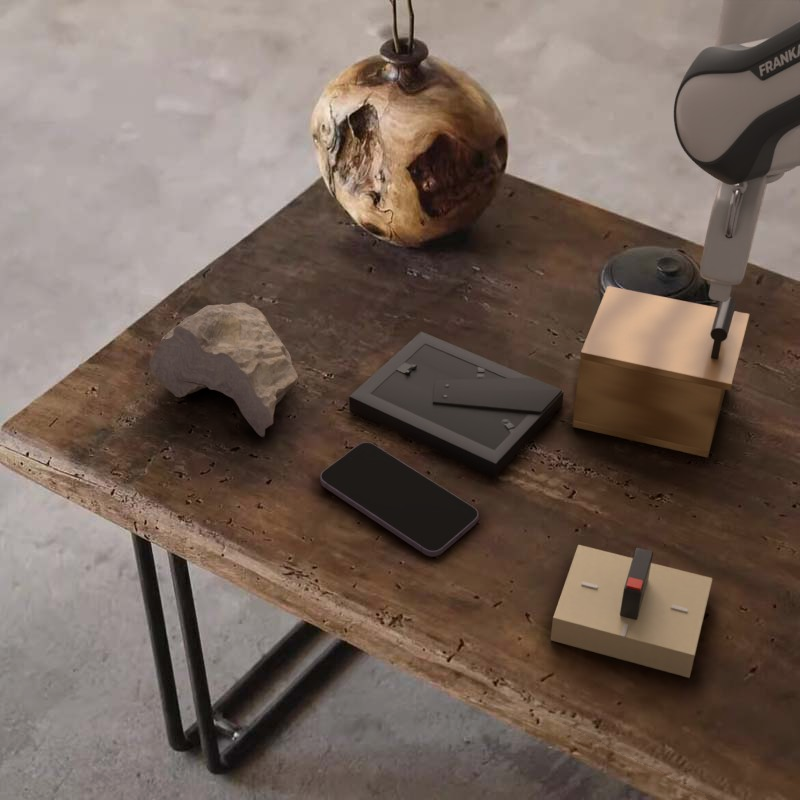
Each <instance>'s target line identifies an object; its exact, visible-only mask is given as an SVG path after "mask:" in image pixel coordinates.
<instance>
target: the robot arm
mask: <svg viewBox="0 0 800 800" xmlns="http://www.w3.org/2000/svg"><path fill="white" fill-rule="evenodd" d="M718 19H719V20H718V25H717V31H716V36H715V43H714V46H708V47H705V48H704V49H702V50H701V51H700V52H699V53H698V55H697V56H696V57H695V59H694V60H693V61H692V63H691V64H690V66H689V68H688V69H687V71H686V73H685V74H684V76H683V78H682V80H681V81H680V84H679V87H678V88H677V92H676V95H675V99H674V104H673V122H674V124H673V125H674V130H675V134H676V137H677V140H678V142H679V144H680V147H681V148H682V150H683V151H684V153H685V154H686V155H687V156H688V158H689V159H690V160H691V161H692V162H693V163H694V164H696V165H697V166H698V167H699V168H700V169H702V171H704V172H705V173H707V174H708V175H710V176H711V177H713V178H714V179H716V180H718V185H717V188H716V191H715V195H714V198H713V202H712V206H711V210H710V215H709V219H708V223H707V224H708V225H707V229H706V234H705V239H704V244H703V249H702V254H701V259H700V265H699V274H700V277H701V278H702V279H704V280H707V281H710V284H709V285H710V286H709V289H708V298H709V299H710V300H712V301H715V302H716V301H717V302H720V301H721V302H726V301H728V300H729V297H731V293H732V288H733V285H734V286H739V285H740V284H741V283H742V282H743V280H744V278H745V275H746V271H747V268H748V263H749V260H750V255H751V251H752V247H753V243H754V239H755V235H756V231H757V226H758V222H759V219H760V216H761V215H760V214H761V211H762V206H763V203H764V199H765V195H766V191H767V187H768V184H772V183H774V182H777V181H778V180H780V179H781V178H783V176H784V175H785V173H787V172H790V171H791V170H794V169H795V168H797V167H800V0H723V1H722V6H721V11H720V14H719V18H718Z"/></svg>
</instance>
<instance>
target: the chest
mask: <svg viewBox="0 0 800 800" xmlns="http://www.w3.org/2000/svg"><path fill="white" fill-rule="evenodd" d="M577 373H578V374H577V383H576V391H575V401H574V409H573V417H572V427H573V428H576V429H579V430H584V431H590V432H592V433H593V432H594V433H598V434H601V435H607V436H610V437H611V436H612V437H614V438H615V437H616V438H620V439H624V440H628V441H633V442H637V443H641V444H646V445H650V446H655V447H658V448H659V447H660V448H664V449H669V450H673V451H677V452H680V453H686V454H690V455H695V456H698V457H703V458H709V454H710V451H711V446H712V443H713V439H714V436H715V432H716V427H717V424H718V421H719V416H720V414H721V413H720V412H721V409H722V404H723V401H724V397H725V394H726V391H727V390H726V389H721V388H716V387H712V386H707V385H702V384H698V383H693V382H688V381H683V380H679V379H674V378H669V377H665V376H660V375H655V374H651V373H646V372H641V371H637V370H632V369H627V368H623V367H618V366H613V365H609V364H604V363H599V362H595V361H590V360H585V359H581V358H580V357H579V365H578V372H577Z"/></svg>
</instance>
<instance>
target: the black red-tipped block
mask: <svg viewBox="0 0 800 800" xmlns="http://www.w3.org/2000/svg"><path fill="white" fill-rule="evenodd" d="M653 556H654V552H653V551H652V550H649V549H645V548H640V547H635V549H634V554H633V557H632V558H633V560H632V563H631V566H630V570H629V573H628V577H627V580H626V583H625V587H624V592H623V598H622V604H621V610H620V616H622V617H626V618H630V619H634V620H637V618H638V615H639V611H640V607H641V604H642V600H643V597H644V593H645V589H646V586H647V582H648V578H649V573H650V567H651V563H653Z"/></svg>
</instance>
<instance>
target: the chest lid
mask: <svg viewBox="0 0 800 800" xmlns="http://www.w3.org/2000/svg"><path fill="white" fill-rule="evenodd" d="M736 307H737V302H736V299H735V298H734V297H732V296H730V297H729V300H728V301H726V302H721V301H718V305H717V307H716V306H712V305H707V304H701V303H696V302H691V301H686V300H680V299H676V298H671V297H665V296H662V295H655V294H652V293H646V292H640V291H635V290H631V289H625V288H621V287H620V288H619V287H615V286H610V285H607V286H606V289H605V291H604V293H603V295H602V299H601V301H600V304H599V306H598V308H597V312H596V314H595V315H594V318H593V321H592V323H591V326H590V328H589V331H588V334H587V335H586V338H585V341H584V342H583V343H584V344H583V346H582V348H581V351H580V356H579V359H580V358H581V359H585V360H590V361H595V362H599V363H604V364H609V365H613V366H618V367H623V368H627V369H632V370H637V371H641V372H646V373H651V374H655V375H660V376H665V377H669V378H674V379H679V380H683V381H688V382H693V383H698V384H702V385H707V386H712V387H716V388H721V389H726V390H725V391H731V390H732V386H733V382H734V379H735V374H736V371H737V370H736V369H737V367H738V362H739V358H740V354H741V350H742V347H743V343H744V339H745V336H746V332H747V327H748V323H749V320H750V316H751V315H750V313H747V312H742V311H737V310H736Z"/></svg>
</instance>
